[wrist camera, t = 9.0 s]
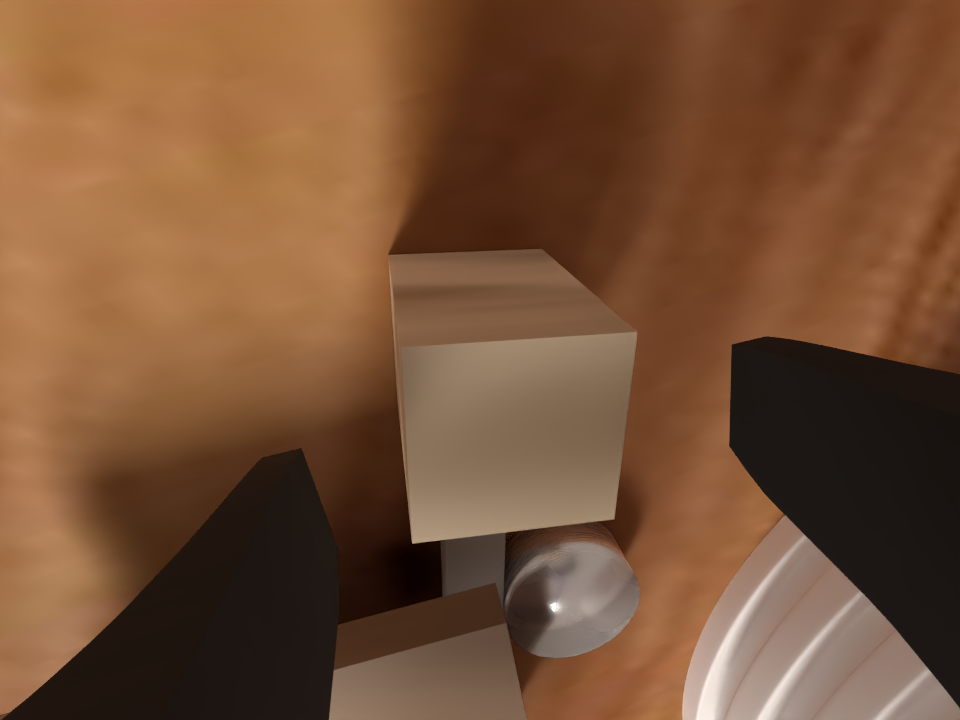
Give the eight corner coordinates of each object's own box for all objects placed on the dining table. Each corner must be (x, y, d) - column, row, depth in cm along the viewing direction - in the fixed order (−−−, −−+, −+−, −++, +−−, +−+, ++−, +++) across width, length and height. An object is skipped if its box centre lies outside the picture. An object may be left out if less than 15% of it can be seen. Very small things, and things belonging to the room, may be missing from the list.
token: (617, 592, 21) (641, 637, 20) (502, 622, 21) (515, 671, 19) (612, 498, 19) (638, 539, 18) (485, 530, 19) (498, 574, 17)
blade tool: (523, 630, 21) (577, 814, 16) (412, 647, 20) (429, 844, 15) (541, 248, 15) (637, 331, 10) (388, 255, 15) (400, 347, 9)
